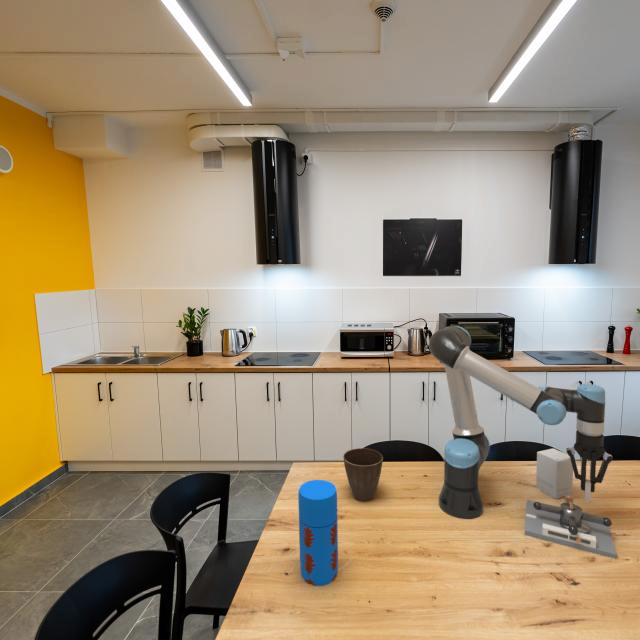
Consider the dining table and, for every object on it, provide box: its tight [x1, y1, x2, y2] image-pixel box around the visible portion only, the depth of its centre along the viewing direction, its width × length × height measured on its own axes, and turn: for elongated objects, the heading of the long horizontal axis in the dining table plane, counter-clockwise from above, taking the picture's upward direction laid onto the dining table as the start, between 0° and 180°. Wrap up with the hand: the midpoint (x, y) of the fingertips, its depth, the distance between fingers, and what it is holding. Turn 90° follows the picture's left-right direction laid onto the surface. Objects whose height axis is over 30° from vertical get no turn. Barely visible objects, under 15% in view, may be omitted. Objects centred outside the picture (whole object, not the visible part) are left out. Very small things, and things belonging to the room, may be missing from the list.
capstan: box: [533, 495, 613, 535], centre depth 129 cm, size 22×22×6 cm
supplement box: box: [535, 448, 574, 500], centre depth 152 cm, size 9×9×15 cm
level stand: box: [524, 499, 618, 560], centre depth 130 cm, size 24×21×4 cm
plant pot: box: [342, 447, 384, 502], centre depth 151 cm, size 15×15×16 cm
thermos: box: [297, 479, 339, 587], centre depth 112 cm, size 11×11×25 cm
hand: (587, 499), depth 132 cm, fingers closed
